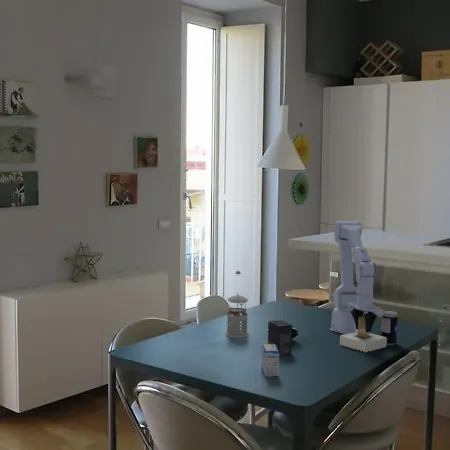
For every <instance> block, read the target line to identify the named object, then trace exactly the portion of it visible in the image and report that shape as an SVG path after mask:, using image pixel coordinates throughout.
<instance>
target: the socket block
mask: <svg viewBox="0 0 450 450" xmlns="http://www.w3.org/2000/svg"><path fill="white" fill-rule="evenodd" d="M386 343H387V338H386V337H383V336H381V335H378V334H374V333H371V332H369V338H368V339H361V338H358V332H353V333H349V334H342V335H341V334H340V336H339V346H342V347H343V346H344V347H346V348H349V349H353V350H355V349H356V351H358V350H360V351H359V352H362V351H363V352H362V353H368V351H369V352H373V351H377V350H379V349H380V350H381V349H383V348H387V345H386Z"/></svg>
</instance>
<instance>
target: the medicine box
mask: <svg viewBox="0 0 450 450" xmlns="http://www.w3.org/2000/svg"><path fill="white" fill-rule="evenodd" d="M261 351H262V353H261V355H262V356H261V370H262V374H263V375H264V377H265V376H267V377H266V378H272V377H271V376H278V377H279V368H280V364H279V363H280V355H279V351H278V349H277V347H276V345H275V344H268V343H264V344H262V348H261Z"/></svg>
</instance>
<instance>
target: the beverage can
mask: <svg viewBox="0 0 450 450" xmlns="http://www.w3.org/2000/svg"><path fill="white" fill-rule="evenodd" d="M398 318H399V317H398V312H396V311H393V310H385V311H382V315H381V327H380V328H381V329H380V330H381V331H380V332H381V334H380V336H383V337H386V338H387V343H386V346H394V345H395V344H396V343H397V337H398Z"/></svg>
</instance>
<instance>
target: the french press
mask: <svg viewBox="0 0 450 450" xmlns="http://www.w3.org/2000/svg"><path fill="white" fill-rule="evenodd" d="M241 274H242V273H241V271H239V270H236V271H235V275H241ZM226 300H227V301H228V302H229V303H233V304H237V307H231V308H228V312H227V320H226V321H227V325H226V326H227V327H226V330H227V331H226V332H225V333H224V335H225V336H226V337H229V338H237V339H239V338H240V339H242V338H247V337H249V336H250V333H249V332H248V313H247V311H248V309H247V307H246V303H247V302H248V301H249V299H248V298H247V297H245V296H243V295H239V293H237V294H236V295H235V294H234V295H232V296H229V297H228V298H227V299H226ZM239 305H240V307H239ZM243 305H244V307H243Z"/></svg>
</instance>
